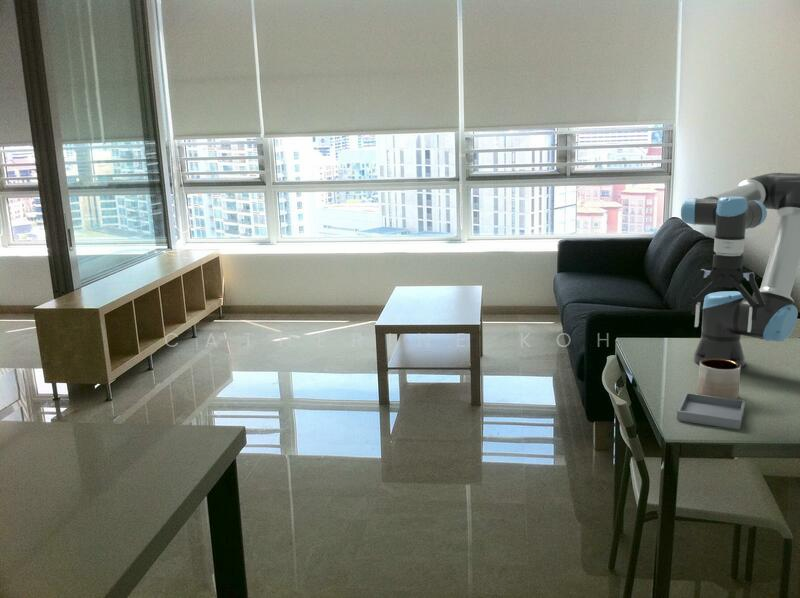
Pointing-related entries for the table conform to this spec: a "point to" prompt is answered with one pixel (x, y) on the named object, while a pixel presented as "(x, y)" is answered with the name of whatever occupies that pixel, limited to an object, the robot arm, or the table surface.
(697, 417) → the tray
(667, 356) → the table surface
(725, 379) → the planter
